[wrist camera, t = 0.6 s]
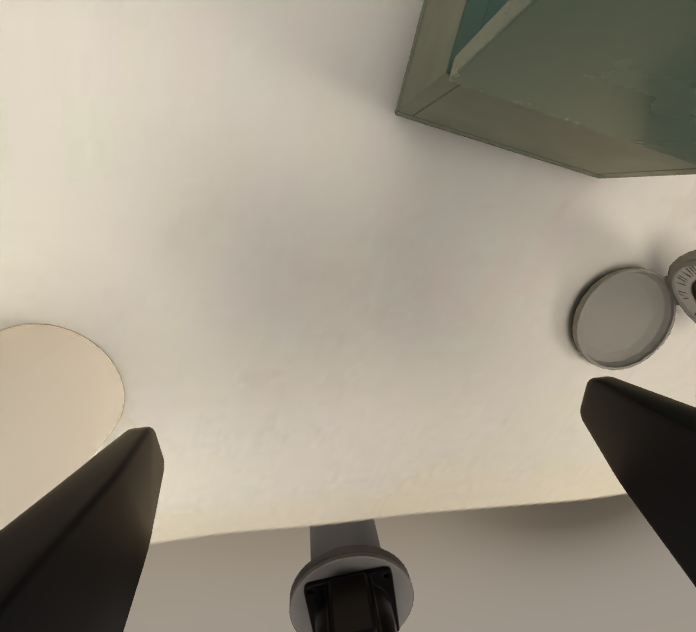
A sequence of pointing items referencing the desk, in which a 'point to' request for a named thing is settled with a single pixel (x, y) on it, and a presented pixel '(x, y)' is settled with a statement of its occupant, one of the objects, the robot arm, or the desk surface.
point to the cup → (50, 410)
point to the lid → (594, 66)
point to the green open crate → (507, 104)
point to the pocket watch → (633, 313)
